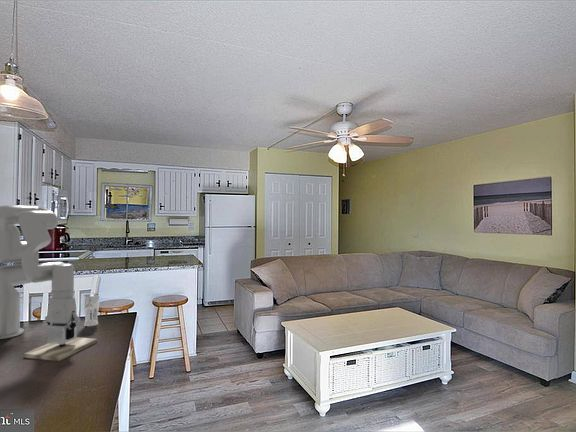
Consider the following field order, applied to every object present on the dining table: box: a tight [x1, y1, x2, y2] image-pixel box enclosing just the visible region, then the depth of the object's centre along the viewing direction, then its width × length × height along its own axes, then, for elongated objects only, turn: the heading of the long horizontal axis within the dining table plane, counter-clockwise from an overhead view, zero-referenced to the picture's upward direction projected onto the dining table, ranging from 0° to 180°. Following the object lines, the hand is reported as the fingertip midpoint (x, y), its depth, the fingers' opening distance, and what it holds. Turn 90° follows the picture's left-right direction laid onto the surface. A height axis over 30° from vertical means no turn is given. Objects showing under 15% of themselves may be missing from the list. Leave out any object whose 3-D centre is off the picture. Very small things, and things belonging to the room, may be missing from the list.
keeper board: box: [23, 336, 98, 362], centre depth 136 cm, size 16×19×8 cm
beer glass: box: [82, 293, 100, 328], centre depth 168 cm, size 7×7×15 cm
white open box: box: [47, 323, 78, 344], centre depth 136 cm, size 7×7×7 cm
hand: (62, 337), depth 136 cm, fingers closed on white open box, 6 cm apart
